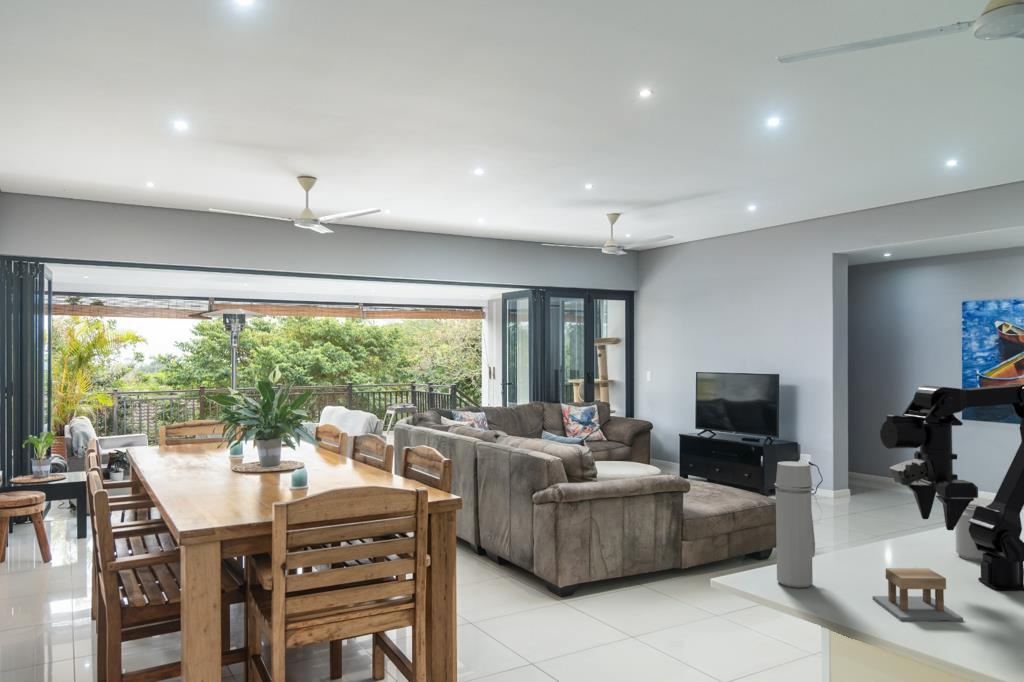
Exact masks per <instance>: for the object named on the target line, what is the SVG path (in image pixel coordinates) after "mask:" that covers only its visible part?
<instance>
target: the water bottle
mask: <svg viewBox="0 0 1024 682" xmlns="http://www.w3.org/2000/svg"><path fill="white" fill-rule="evenodd" d="M776 466H777V467H776V477H775V478H776V479H775V483H774V484H773V485H774V486H775V523H776V524H775V525H776V526H775V527H776V528H775V535H776V537H775V539H776V541H775V543H776V544H775V545H776V580H777V582H778V583H779V584H781V585H783V586H784V587H785V586H786V587H790V588H794V587H795V589H805V588H808V587H810V586H812V584H813V582H814V581H813V580H814V579H813V558H815V554H816V541H815V528H814V521H813V511H812V491H815V490H816V488H814V487H813V480H812V479H813V478H812V473H811V464H810V463H808V462H804V461H792V460H790V461H786V460H785V461H778V462H777V465H776Z"/></svg>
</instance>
